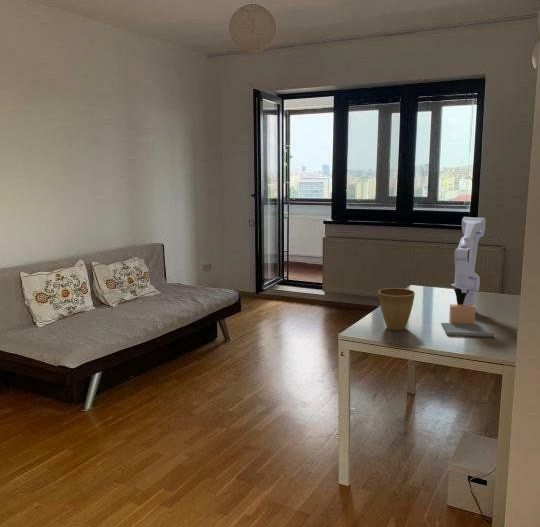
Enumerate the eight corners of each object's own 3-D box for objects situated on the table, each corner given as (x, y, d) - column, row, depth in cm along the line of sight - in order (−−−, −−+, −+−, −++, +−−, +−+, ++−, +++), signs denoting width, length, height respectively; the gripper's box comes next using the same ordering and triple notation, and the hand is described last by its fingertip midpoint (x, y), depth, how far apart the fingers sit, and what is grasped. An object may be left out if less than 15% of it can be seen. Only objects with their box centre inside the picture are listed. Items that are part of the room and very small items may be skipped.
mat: (441, 324, 235) (441, 320, 234) (484, 325, 232) (484, 321, 232) (447, 335, 219) (447, 331, 219) (493, 337, 217) (494, 333, 216)
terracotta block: (449, 321, 238) (450, 304, 237) (472, 322, 237) (473, 305, 235) (450, 324, 235) (451, 306, 233) (474, 325, 233) (475, 307, 232)
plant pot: (417, 325, 233) (419, 289, 230) (407, 335, 220) (408, 297, 217) (384, 321, 240) (385, 286, 237) (372, 330, 228) (373, 293, 225)
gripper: (449, 271, 245) (448, 300, 247) (455, 278, 231) (453, 308, 233) (465, 271, 244) (464, 300, 246) (472, 278, 229) (470, 309, 232)
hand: (460, 304), depth 240 cm, fingers closed
